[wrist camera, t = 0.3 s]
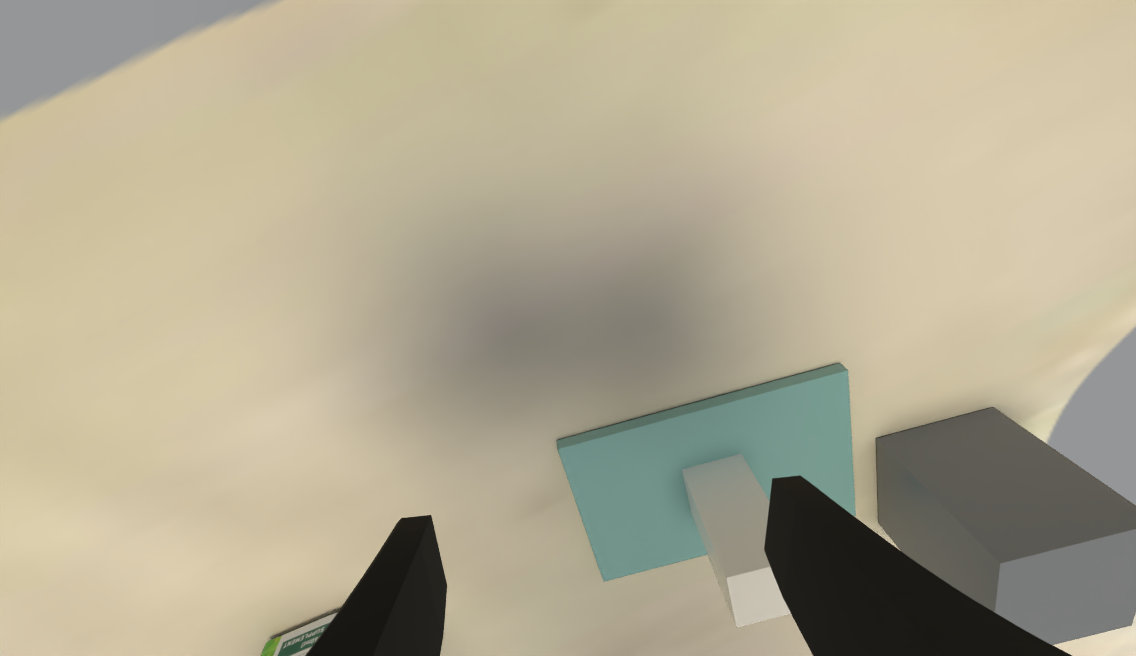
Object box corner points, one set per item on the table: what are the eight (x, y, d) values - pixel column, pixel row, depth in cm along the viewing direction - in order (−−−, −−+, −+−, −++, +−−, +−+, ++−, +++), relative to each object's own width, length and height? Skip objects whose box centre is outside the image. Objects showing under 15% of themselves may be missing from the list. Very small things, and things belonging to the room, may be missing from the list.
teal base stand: (848, 506, 25) (939, 625, 20) (602, 570, 26) (624, 704, 20) (840, 363, 22) (947, 457, 16) (556, 440, 22) (568, 558, 17)
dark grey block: (985, 495, 26) (1131, 625, 20) (878, 522, 26) (989, 660, 20) (993, 407, 24) (1160, 522, 17) (875, 438, 24) (1000, 563, 18)
